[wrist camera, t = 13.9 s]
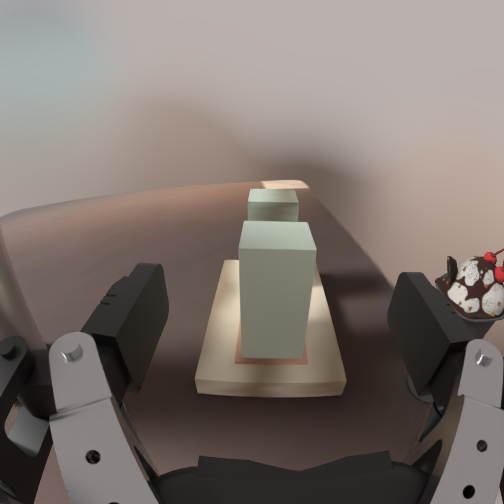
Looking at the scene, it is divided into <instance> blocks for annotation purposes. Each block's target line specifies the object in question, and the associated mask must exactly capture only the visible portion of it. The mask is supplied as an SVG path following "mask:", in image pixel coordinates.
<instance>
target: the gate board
mask: <svg viewBox="0 0 504 504" xmlns="http://www.w3.org/2000/svg"><path fill="white" fill-rule="evenodd" d="M298 209H299V202H298V199H297V196H296V193H295V190H279V189H250V194H249V199H248V221H276V222H298ZM346 381H347V380H346V376H345V371H344V367H343V363H342V359H341V355H340V351H339V347H338V343H337V339H336V335H335V331H334V327H333V323H332V319H331V315H330V312H329V308H328V304H327V301H326V297H325V293H324V290H323V286H322V283H321V279H320V276H319V272H318V269H317V265H316V262H315V269H314V278H313V286H312V294H311V302H310V309H309V316H308V323H307V330H306V337H305V343H304V350H303V356H302V359H271V358H242V352H241V321H240V286H239V260H225V261H224V265H223V269H222V272H221V276H220V280H219V284H218V288H217V291H216V295H215V299H214V303H213V307H212V311H211V315H210V319H209V322H208V326H207V330H206V334H205V338H204V342H203V346H202V350H201V354H200V358H199V363H198V367H197V371H196V375H195V383H196V387H197V392H198V393H201V394H213V395H227V396H245V397H318V396H336V395H342V392H343V390H344V387H345V384H346Z"/></svg>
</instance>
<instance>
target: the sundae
mask: <svg viewBox="0 0 504 504" xmlns="http://www.w3.org/2000/svg"><path fill="white" fill-rule="evenodd" d="M503 250H504V249H502V250H500V251H498V252H496V253H495V254H493V253H492V252H487V253H486V254H485V255H484V257H477V256H474V257H473V258H470V259H468V260H467V261H465V262H464V263H463V264H462V265H461V267H460V269H459V270H458V269H457V263H456V260H455V259H453V258H452V257H451V256H448V257H447V270H448V273H446V274H444V275H443V276H441V277H440V278H437V279H436V280H435V283H436V287H437V289H438V290H439V291H440V292H441V293H443V294H444V295H445V297H446V298H447V299H448V301H449V302H450V304H451V306H453V308H454V309H455V311H456V314H458V315H459V316H460V318H461V319H462V321H463V322H464V324H465V325H466V327H467V328H468V330H469V331H470V333H471V334H472V336H473V337H474V339H483V337H484V336H485V334H486V333H487V332H488V330H489V329H490V327H491V326H492V325H493V324H494V322H495V321H497V320H502V319H504V284H503V282H504V261H503V266H502V267H500V266H499V267H496V265H495V264H496V262H497V259H496V255H497V254H499V253H500V252H502V251H503ZM407 383H408V387H409V389H410V391H411V392H412V393H413V395H414V396H415V397H416V398H418V399H419V400H421V401H423V402H426V403H430V402H431V401H432V400H433V397H432V395H426V396H421V397H418V395H417V392H416V390H415V387H414V384H413V382H412V379H411V377H410V374H408V378H407Z"/></svg>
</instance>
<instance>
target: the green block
mask: <svg viewBox="0 0 504 504" xmlns="http://www.w3.org/2000/svg"><path fill="white" fill-rule="evenodd" d="M316 251H317V250H316V247H315V244H314V241H313V238H312V235H311V232H310V229H309V226H308V223H307V222H276V221H244V224H243V229H242V234H241V239H240V244H239V286H240V321H241V352H242V358H271V359H302V356H303V350H304V343H305V337H306V330H307V323H308V316H309V309H310V302H311V294H312V286H313V278H314V269H315V260H316Z"/></svg>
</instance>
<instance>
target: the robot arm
mask: <svg viewBox="0 0 504 504" xmlns="http://www.w3.org/2000/svg"><path fill="white" fill-rule="evenodd" d="M168 313H169V302H168V296H167V290H166V284H165V278H164V271H163V267H162V265H161V264H153V263H138V264H137V266H136V267H135V268H134V270H133V271H132V273H131V274H130V275H129V277H125V276H124V277H123V278H122V279H120V280H119V281H117V282H116V283H114V284H113V285H112V286H111V288H110V289H109V291H108V292H107V293H106V296H104V298H103V299H102V300H101V302H100V304H99V305H98V306H97V307H96V309H95V310H94V312H93V313H92V315H91V316H90V318H89V319H88V321H87V322H86V324H85V325H84V326H83V328H82V329H81V331H80V332H73V333H69V334H66V335H64V336H62V337H60V338H59V339H58V340H56V341H55V342H54V344H53V345H52V346H51V348H50V349H47V347H46V345H45V343H44V341H43V339H42V337H41V335H40V333H39V331H38V328H37V326H36V324H35V322H34V319H33V317H32V315H31V313H30V310H29V308H28V306H27V303H26V301H25V299H24V296H23V294H22V291H21V289H20V286H19V283H18V281H17V278H16V275H15V272H14V269H13V266H12V263H11V260H10V257H9V254H8V251H7V248H6V244H5V241H4V237H3V234H2V230H1V227H0V504H34V500H35V497H36V493H37V490H38V486H39V483H40V480H41V477H42V474H43V471H44V467H45V464H46V462H47V459H48V456H49V453H50V450H51V447H52V445H53V443H54V447H55V451H56V455H57V459H58V463H59V466H60V470H61V473H62V477H63V480H64V483H65V486H66V489H67V492H68V495H69V498H70V501H71V503H72V504H494V502H495V499H496V496H497V492H498V488H499V487H500V491H501V496H502V500H503V504H504V357H502V355H501V353H500V351H499V350H498V349H497V348H496V347H495V346H494V345H493V344H492V343H490V342H488V341H485V340H482V339H474V337H473V336H472V334H471V333H470V331H469V330H468V328H467V327H466V325H465V324H464V322H463V321H462V319H461V318H460V316H459V315H458V314H456V311H455V309H454V308H453V306H451V304H450V302H449V301H448V299H447V298H446V297H445V295H444V294H443V293H441V292H440V291H439V290H437V289H436V288H435V287H433V286H432V285H431V283H430V282H429V281H428V279H427V278H426V277H425V275H424V274H423V273H421V272H402V273H401V274H400V275H399V277H398V280H397V283H396V286H395V290H394V293H393V296H392V299H391V302H390V306H389V309H388V324H389V327H390V329H391V332H392V334H393V336H394V338H395V341H396V343H397V345H398V348H399V350H400V352H401V355H402V357H403V359H404V362H405V364H406V367H407V369H408V372H409V374H410V377H411V379H412V382H413V384H414V387H415V390H416V392H417V395H418V397H421V396H426V395H432V397H433V400H432V401H431V402H430V404H429V406H428V409H427V411H426V414H425V417H424V419H423V422H422V425H421V427H420V430H419V432H418V434H417V437H416V439H415V442H414V444H413V446H412V448H411V450H410V452H409V453H408V455H407V456H406V457H405V459H404V460H403V461H402V463H400V462H394V461H391V458H390V454H389V450H388V451H383V452H377V453H371V454H364V455H357V456H349V457H345V458H342V459H339V460H336V461H333V462H330V463H327V464H323V465H320V466H317V467H313V468H310V469H306V470H302V471H294V470H288V469H284V468H279V467H274V466H270V465H266V464H262V463H258V462H254V461H250V460H240V459H226V458H215V457H206V456H199V461H198V466H195V467H187V468H182V469H178V470H174V471H171V472H168V473H165V474H163V475H160V474H159V472H158V470H157V468H156V467H155V465H154V463H153V462H152V460H151V459H150V457H149V455H148V453H147V452H146V450H145V448H144V446H143V444H142V442H141V440H140V438H139V436H138V434H137V431H136V429H135V427H134V425H133V423H132V420H131V418H130V416H129V414H128V411H127V409H126V407H125V404H124V402H123V400H122V399H123V397H124V394H125V392H126V391H128V392H133V393H139V391H140V388H141V385H142V382H143V380H144V377H145V374H146V372H147V369H148V367H149V364H150V361H151V359H152V356H153V354H154V351H155V349H156V346H157V344H158V341H159V339H160V336H161V334H162V331H163V329H164V326H165V324H166V321H167V318H168ZM16 399H18V400H19V401H20V402H21V404H22V407H21V409H20V411H19V414H18V416H17V418H16V420H15V422H14V424H13V426H12V429H11V431H10V433H9V435H8V437H7V435H6V433H5V429H4V425H5V421H6V418H7V416H8V414H9V412H10V410H11V408H12V406H13V404H14V402H15V400H16Z"/></svg>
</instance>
